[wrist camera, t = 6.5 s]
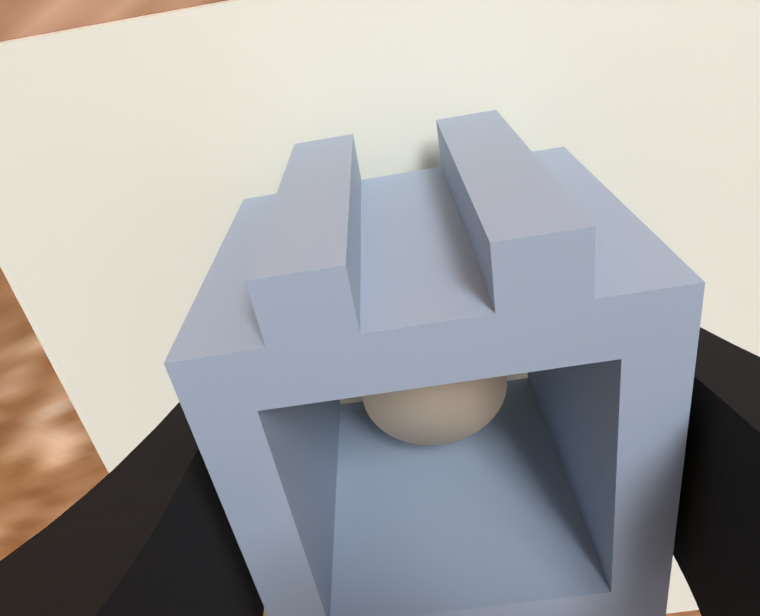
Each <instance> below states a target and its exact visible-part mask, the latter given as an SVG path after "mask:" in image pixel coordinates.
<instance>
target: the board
mask: <svg viewBox="0 0 760 616" xmlns="http://www.w3.org/2000/svg"><path fill="white" fill-rule="evenodd" d="M492 110H497V111H498V112H499V114H500V115H501V116H502V117H503V118H504V119H505V121H506V122H507V123H508V124H509V125H510V126H511V128H512V129H513V130H514V131H515V132H516V133H517V135H518V136H519V137H520V138H521V139H522V141H523V142H524V143H525V144H526V145H527V146H528V148H529V149H530V150H531V151H532V152H533V151H539V150H545V149H551V148H557V147H563V146H564V147H565V148H566V149H567V150H568V151H569V152H570V153H571V154H572V155H573V156H574V157H575V158H576V159H577V160H578V161H579V162H580V163H581V164H583V165H584V166H585V167H586V168H587V169H588V170H589V171H590V172H591V173H592V174H593V175H594V176H595V177H596V178H597V179H598V180H599V181H600V182H601V183H602V184H603V185H604V186H605V187H606V188H608V189H609V190H610V191H611V192H612V193H613V194H614V195H615V196H616V197H617V198H618V199H619V200H620V201H621V202H622V203H623V204H624V205H625V206H626V207H627V208H628V209H629V210H630V211H631V212H633V213H634V214H635V215H636V216H637V217H638V218H639V219H640V220H641V221H642V222H643V223H644V224H645V225H646V226H647V227H648V228H649V229H650V230H651V231H652V232H653V233H654V234H655V235H656V236H658V237H659V238H660V239H661V240H662V241H663V242H664V243H665V244H666V245H667V246H668V247H669V248H670V249H671V250H672V251H673V252H674V253H675V254H676V255H677V256H678V257H679V258H680V259H681V260H683V261H684V262H685V263H686V264H687V265H688V266H689V267H690V268H691V269H692V270H693V271H694V272H695V273H696V274H697V275H698V276H699V277H700V278H701V279H702V280H703V281H704V282H705V289H704V297H703V306H702V314H701V323H700V327H701V328H703V329H705V330H707V331H709V332H711V333H713V334H715V335H717V336H719V337H720V338H722V339H724V340H726V341H728V342H730V343H732V344H734V345H736V346H738V347H740V348H742V349H744V350H747V351H749V352H751V353H753V354H755V355H757V356H759V357H760V0H228V1H223V2H217V3H212V4H206V5H201V6H195V7H190V8H184V9H179V10H173V11H167V12H162V13H156V14H151V15H145V16H140V17H134V18H129V19H123V20H118V21H112V22H107V23H101V24H96V25H90V26H85V27H79V28H74V29H68V30H63V31H57V32H52V33H46V34H41V35H35V36H30V37H24V38H19V39H13V40H8V41H2V42H0V267H1V269H2V271H3V273H4V275H5V277H6V279H7V280H8V282H9V284H10V286H11V288H12V290H13V292H14V294H15V296H16V298H17V299H18V301H19V303H20V305H21V307H22V309H23V311H24V313H25V315H26V317H27V318H28V320H29V322H30V324H31V326H32V328H33V330H34V332H35V334H36V336H37V337H38V339H39V341H40V343H41V345H42V347H43V349H44V351H45V353H46V355H47V357H48V358H49V360H50V362H51V364H52V366H53V368H54V370H55V372H56V374H57V376H58V377H59V379H60V381H61V383H62V385H63V387H64V389H65V391H66V393H67V395H68V396H69V398H70V400H71V402H72V404H73V406H74V408H75V410H76V412H77V414H78V415H79V417H80V419H81V421H82V423H83V425H84V427H85V429H86V431H87V433H88V434H89V436H90V438H91V440H92V442H93V444H94V446H95V448H96V450H97V452H98V453H99V455H100V457H101V459H102V461H103V463H104V465H105V467H106V469H107V471H108V472H109V473H110V472H111V471H112V470H113V469H114V468H115V467H116V466H117V465H118V464H119V463H120V462H121V461H122V460H123V459H124V458H125V457H126V456H127V455H128V454H129V453H130V452H131V451H133V450H134V449H135V448H136V447H137V446H138V445H139V444H140V443H141V442H142V441H143V440H144V439H145V438H146V437H147V436H148V435H149V434H150V433H151V432H152V431H153V430H154V429H155V428H156V427H157V426H158V424H159V423H160V422H161V421H162V420H163V419H164V418H165V417H166V416H167V415H168V414H169V413H170V411H171V410H172V409H173V408H174V407H175V406H176V405H177V404H178V403H179V399H178V397H177V394H176V392H175V390H174V387H173V385H172V382H171V380H170V378H169V375H168V373H167V370H166V368H165V365H164V361H165V359H166V357H167V355H168V353H169V351H170V349H171V347H172V345H173V343H174V341H175V339H176V337H177V335H178V333H179V331H180V329H181V327H182V324H183V322H184V320H185V318H186V316H187V314H188V312H189V310H190V308H191V306H192V304H193V302H194V300H195V298H196V296H197V294H198V292H199V290H200V287H201V285H202V283H203V281H204V279H205V277H206V275H207V273H208V271H209V269H210V267H211V265H212V263H213V261H214V259H215V257H216V255H217V253H218V251H219V248H220V246H221V244H222V242H223V240H224V238H225V236H226V234H227V232H228V230H229V228H230V226H231V224H232V222H233V220H234V218H235V216H236V214H237V211H238V209H239V207H240V205H241V203H242V201H243V199H247V198H253V197H259V196H265V195H271V194H277V191H278V188H279V185H280V182H281V180H282V177H283V174H284V171H285V169H286V166H287V163H288V160H289V158H290V155H291V152H292V149H293V146H294V144H296V143H302V142H308V141H314V140H320V139H326V138H332V137H338V136H344V135H349V134H353V137H354V142H355V148H356V153H357V159H358V164H359V170H360V175H361V180H362V179H369V178H375V177H381V176H387V175H393V174H399V173H405V172H411V171H417V170H423V169H429V168H436V167H441V159H440V150H439V142H438V133H437V124H436V120H438V119H444V118H450V117H456V116H462V115H468V114H474V113H480V112H486V111H492ZM523 378H528V372H527V373H520V374H513V375H506V376H499V377H492V378H485V379H478V380H471V381H465V382H458V383H451V384H444V385H437V386H430V387H423V388H416V389H409V390H402V391H395V392H388V393H381V394H374V395H367V396H360V397H353V398H346V399H339V401H340V404H347V403H354V402H361V401H363V403H364V406H365V409H366V411H367V413H368V415H369V417H370V418H371V420H372V421H373V422H374V423H375V424H376V425H377V426H378V427H379V428H380V429H381V430H382V431H384V432H385V433H387V434H388V435H390V436H392V437H394V438H396V439H398V440H401V441H404V442H407V443H411V444H417V445H443V444H448V443H452V442H456V441H459V440H462V439H464V438H467V437H469V436H471V435H472V434H474V433H476V432H478V431H479V430H481V429H482V428H483V427H484V426H486V425H487V424H488V423H489V422H490V421H491V420H492V419H493V418H494V417H495V415H496V414H497V412H498V411H499V410H500V408H501V406H502V404H503V401H504V398H505V395H506V390H507V381H509V380H516V379H523ZM691 610H699V608H698V606H697V604H696V601H695V599H694V597H693V595H692V592H691V590H690V588H689V585H688V583H687V581H686V579H685V577H684V575H683V573H682V571H681V569H680V567H679V565H678V563H677V561H676V560H675V558H674V556H673V559H672V567H671V576H670V584H669V592H668V601H667V609H666V614H667V613H675V612H683V611H691ZM263 616H268V615H267V613H266V610H265V608H264V612H263Z"/></svg>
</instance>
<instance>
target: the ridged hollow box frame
mask: <svg viewBox="0 0 760 616" xmlns="http://www.w3.org/2000/svg"><path fill="white" fill-rule="evenodd" d="M436 124H437V133H438V142H439V150H440V159H441V167H436V168H429V169H423V170H417V171H411V172H405V173H399V174H393V175H387V176H381V177H375V178H369V179H362V180H361V175H360V170H359V164H358V159H357V153H356V148H355V142H354V137H353V134H349V135H344V136H338V137H332V138H326V139H320V140H314V141H308V142H302V143H296V144H294V146H293V149H292V152H291V155H290V158H289V160H288V163H287V166H286V169H285V171H284V174H283V177H282V180H281V182H280V185H279V188H278V191H277V194H271V195H265V196H259V197H253V198H247V199H243V201H242V203H241V205H240V207H239V209H238V211H237V214H236V216H235V218H234V220H233V222H232V224H231V226H230V228H229V230H228V232H227V234H226V236H225V238H224V240H223V242H222V244H221V246H220V248H219V251H218V253H217V255H216V257H215V259H214V261H213V263H212V265H211V267H210V269H209V271H208V273H207V275H206V277H205V279H204V281H203V283H202V285H201V287H200V290H199V292H198V294H197V296H196V298H195V300H194V302H193V304H192V306H191V308H190V310H189V312H188V314H187V316H186V318H185V320H184V322H183V324H182V327H181V329H180V331H179V333H178V335H177V337H176V339H175V341H174V343H173V345H172V347H171V349H170V351H169V353H168V355H167V357H166V359H165V361H164V365H165V368H166V370H167V373H168V375H169V378H170V380H171V382H172V385H173V387H174V390H175V392H176V394H177V397H178V399H179V402H180V404H181V407H182V409H183V411H184V414H185V416H186V419H187V421H188V424H189V426H190V428H191V431H192V433H193V436H194V438H195V441H196V443H197V445H198V448H199V450H200V453H201V455H202V458H203V460H204V462H205V465H206V467H207V470H208V472H209V474H210V477H211V479H212V482H213V484H214V487H215V489H216V491H217V494H218V496H219V499H220V501H221V504H222V506H223V508H224V511H225V513H226V516H227V518H228V521H229V523H230V525H231V528H232V530H233V533H234V535H235V537H236V540H237V542H238V545H239V547H240V550H241V552H242V554H243V557H244V559H245V562H246V564H247V567H248V569H249V571H250V574H251V576H252V579H253V581H254V584H255V586H256V588H257V591H258V593H259V596H260V598H261V601H262V603H263V605H264V608H265V610H266V613H267V615H268V616H666V609H667V601H668V592H669V584H670V576H671V567H672V559H673V550H674V542H675V533H676V525H677V517H678V508H679V500H680V491H681V483H682V474H683V466H684V458H685V449H686V441H687V432H688V424H689V415H690V407H691V399H692V390H693V382H694V373H695V365H696V356H697V348H698V340H699V331H700V323H701V314H702V306H703V297H704V289H705V282H704V281H703V280H702V279H701V278H700V277H699V276H698V275H697V274H696V273H695V272H694V271H693V270H692V269H691V268H690V267H689V266H688V265H687V264H686V263H685V262H684V261H683V260H681V259H680V258H679V257H678V256H677V255H676V254H675V253H674V252H673V251H672V250H671V249H670V248H669V247H668V246H667V245H666V244H665V243H664V242H663V241H662V240H661V239H660V238H659V237H658V236H656V235H655V234H654V233H653V232H652V231H651V230H650V229H649V228H648V227H647V226H646V225H645V224H644V223H643V222H642V221H641V220H640V219H639V218H638V217H637V216H636V215H635V214H634V213H633V212H631V211H630V210H629V209H628V208H627V207H626V206H625V205H624V204H623V203H622V202H621V201H620V200H619V199H618V198H617V197H616V196H615V195H614V194H613V193H612V192H611V191H610V190H609V189H608V188H606V187H605V186H604V185H603V184H602V183H601V182H600V181H599V180H598V179H597V178H596V177H595V176H594V175H593V174H592V173H591V172H590V171H589V170H588V169H587V168H586V167H585V166H584V165H583V164H581V163H580V162H579V161H578V160H577V159H576V158H575V157H574V156H573V155H572V154H571V153H570V152H569V151H568V150H567V149H566V148H565V147H564V146H563V147H557V148H551V149H545V150H539V151H533V152H532V151H531V150H530V149H529V148H528V146H527V145H526V144H525V143H524V142H523V141H522V139H521V138H520V137H519V136H518V135H517V133H516V132H515V131H514V130H513V129H512V128H511V126H510V125H509V124H508V123H507V122H506V121H505V119H504V118H503V117H502V116H501V115H500V114H499V112H498V111H497V110H492V111H486V112H480V113H474V114H468V115H462V116H456V117H450V118H444V119H438V120H436ZM527 372H528V378H523V379H516V380H509V381H507V390H506V395H505V398H504V401H503V404H502V406H501V408H500V410H499V411H498V412H497V414H496V415H495V417H494V418H493V419H492V420H491V421H490V422H489V423H488V424H487V425H486V426H484V427H483V428H482V429H481V430H479V431H478V432H476V433H474V434H472V435H471V436H469V437H467V438H464V439H462V440H459V441H456V442H452V443H448V444H443V445H417V444H411V443H407V442H404V441H401V440H398V439H396V438H394V437H392V436H390V435H388V434H387V433H385V432H384V431H382V430H381V429H380V428H379V427H378V426H377V425H376V424H375V423H374V422H373V421H372V420H371V418H370V417H369V415H368V413H367V411H366V409H365V406H364V403H363V401H361V402H354V403H347V404H340V401H339V399H346V398H353V397H360V396H367V395H374V394H381V393H388V392H395V391H402V390H409V389H416V388H423V387H430V386H437V385H444V384H451V383H458V382H465V381H471V380H478V379H485V378H492V377H499V376H506V375H513V374H520V373H527Z"/></svg>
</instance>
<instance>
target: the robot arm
mask: <svg viewBox="0 0 760 616" xmlns="http://www.w3.org/2000/svg"><path fill="white" fill-rule="evenodd" d="M673 556H674V558H675V560H676V561H677V563H678V565H679V567H680V569H681V571H682V573H683V575H684V577H685V579H686V581H687V583H688V585H689V588H690V590H691V592H692V595H693V597H694V599H695V601H696V604H697V606H698V608H699V611H700V613H701V615H702V616H760V357H759V356H757V355H755V354H753V353H751V352H749V351H747V350H744V349H742V348H740V347H738V346H736V345H734V344H732V343H730V342H728V341H726V340H724V339H722V338H720V337H719V336H717V335H715V334H713V333H711V332H709V331H707V330H705V329H703V328H701V327H700V331H699V340H698V348H697V356H696V365H695V373H694V382H693V390H692V399H691V407H690V415H689V424H688V432H687V441H686V449H685V458H684V466H683V474H682V483H681V491H680V500H679V508H678V517H677V525H676V533H675V542H674V550H673ZM263 612H264V605H263V603H262V601H261V598H260V596H259V593H258V591H257V588H256V586H255V584H254V581H253V579H252V576H251V574H250V571H249V569H248V567H247V564H246V562H245V559H244V557H243V554H242V552H241V550H240V547H239V545H238V542H237V540H236V537H235V535H234V533H233V530H232V528H231V525H230V523H229V521H228V518H227V516H226V513H225V511H224V508H223V506H222V504H221V501H220V499H219V496H218V494H217V491H216V489H215V487H214V484H213V482H212V479H211V477H210V474H209V472H208V470H207V467H206V465H205V462H204V460H203V458H202V455H201V453H200V450H199V448H198V445H197V443H196V441H195V438H194V436H193V433H192V431H191V428H190V426H189V424H188V421H187V419H186V416H185V414H184V411H183V409H182V407H181V404H180V402H179V403H178V404H177V405H176V406H175V407H174V408H173V409H172V410H171V411H170V413H169V414H168V415H167V416H166V417H165V418H164V419H163V420H162V421H161V422H160V423H159V424H158V426H157V427H156V428H155V429H154V430H153V431H152V432H151V433H150V434H149V435H148V436H147V437H146V438H145V439H144V440H143V441H142V442H141V443H140V444H139V445H138V446H137V447H136V448H135V449H134V450H133V451H131V452H130V453H129V454H128V455H127V456H126V457H125V458H124V459H123V460H122V461H121V462H120V463H119V464H118V465H117V466H116V467H115V468H114V469H113V470H112V471H111V472H110V473H109V474H108V475H107V476H106V477H105V478H104V479H103V480H101V481H100V482H99V483H98V484H97V485H96V486H95V487H94V488H92V489H91V490H90V491H89V492H88V493H87V494H86V495H84V496H83V497H82V498H81V499H80V500H79V501H77V502H76V503H75V504H74V505H73V506H71V507H70V508H69V509H68V510H67V511H65V512H64V513H63V514H62V515H61V516H59V517H58V518H57V519H56V520H55V521H53V522H52V523H51V524H49V525H48V526H47V527H46V528H44V529H43V530H42V531H40V532H39V533H38V534H36V535H35V536H34V537H32V538H31V539H30V540H28V541H27V542H26V543H24V544H23V545H21V546H20V547H19V548H17V549H16V550H15V551H13V552H12V553H11V554H9V555H8V556H7V557H5V558H4V559H3V560H1V561H0V616H263Z"/></svg>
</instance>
